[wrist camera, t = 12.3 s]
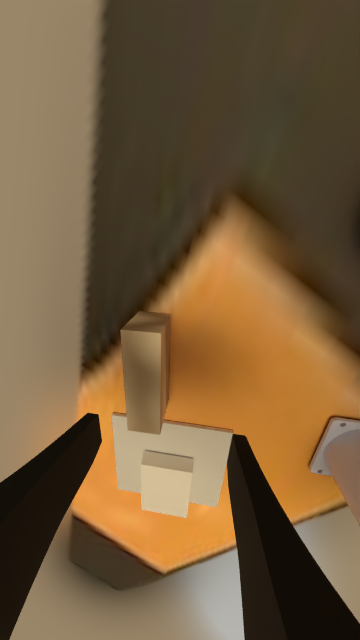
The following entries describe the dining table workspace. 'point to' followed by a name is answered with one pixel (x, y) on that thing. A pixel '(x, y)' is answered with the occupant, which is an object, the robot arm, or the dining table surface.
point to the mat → (175, 440)
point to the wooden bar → (146, 370)
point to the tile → (166, 483)
